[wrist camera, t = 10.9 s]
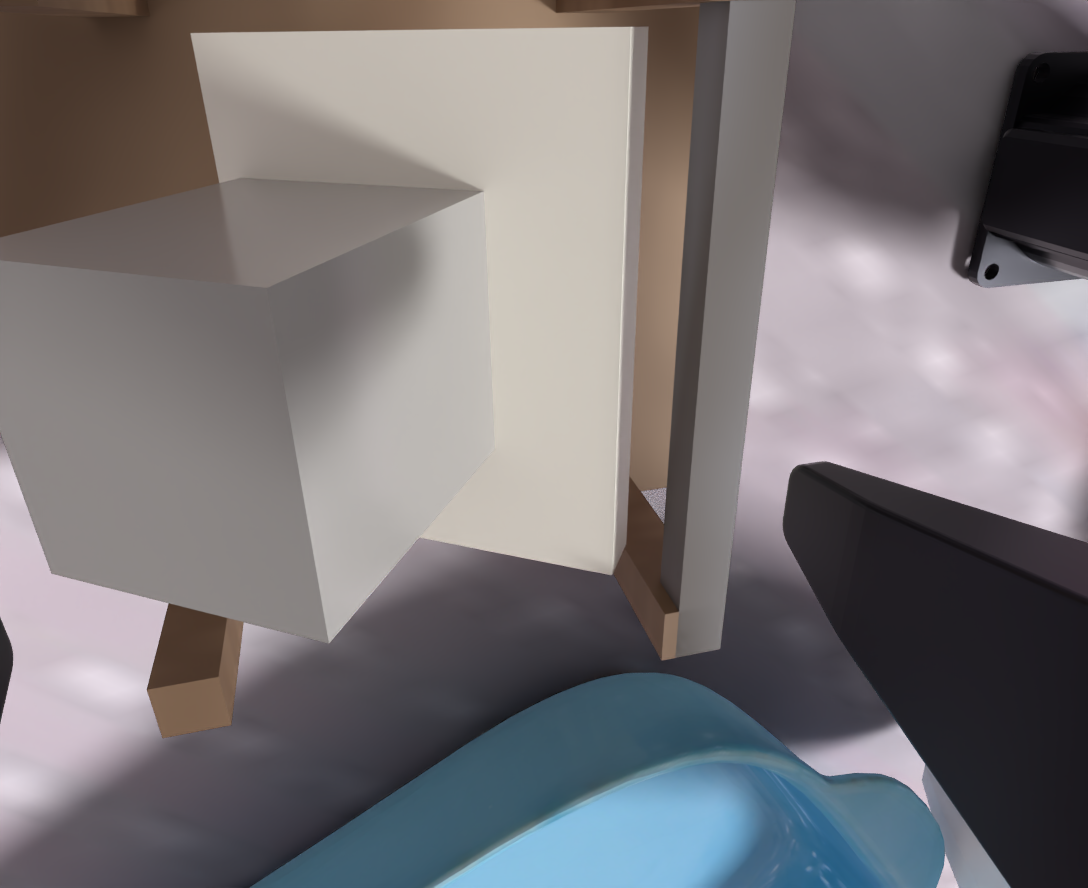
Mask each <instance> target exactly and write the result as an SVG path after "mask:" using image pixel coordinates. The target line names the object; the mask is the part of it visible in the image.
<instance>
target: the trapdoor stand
mask: <svg viewBox="0 0 1088 888" xmlns="http://www.w3.org/2000/svg"><path fill="white" fill-rule="evenodd" d="M795 6H796V0H0V237H4V236H8V235H12V234H16V233H20V232H24V231H28V230H32V229H36V228H41V227H45V226H49V225H53V224H57V223H61V222H65V221H69V220H73V219H77V218H81V217H85V216H89V215H93V214H97V213H101V212H105V211H109V210H113V209H117V208H121V207H125V206H129V205H133V204H137V203H141V202H145V201H149V200H153V199H157V198H161V197H165V196H169V195H173V194H177V193H181V192H185V191H189V190H194V189H198V188H202V187H206V186H210V185H214V184H218V183H219V178H218V173H217V168H216V163H215V158H214V153H213V147H212V142H211V137H210V132H209V127H208V122H207V116H206V111H205V106H204V101H203V96H202V91H201V85H200V80H199V75H198V70H197V65H196V59H195V54H194V49H193V44H192V39H191V34H190V33H226V32H297V31H368V30H439V29H510V28H581V27H649V28H648V51H647V74H646V97H645V121H644V144H643V167H642V190H641V214H640V237H639V260H638V283H637V307H636V330H635V353H634V376H633V400H632V423H631V446H630V469H629V493H628V516H627V539H626V545H625V548H624V550H623V552H622V555H621V557H620V559H619V561H618V564H617V566H616V568H615V570H614V573H613V574H614V576H615V578H616V579H617V581H618V583H619V585H620V587H621V588H622V590H623V592H624V594H625V596H626V597H627V599H628V601H629V603H630V605H631V606H632V608H633V610H634V612H635V614H636V615H637V617H638V619H639V621H640V623H641V624H642V626H643V628H644V630H645V632H646V634H647V635H648V637H649V639H650V641H651V643H652V644H653V646H654V648H655V650H656V652H657V653H658V655H659V657H660V659H661V661H662V660H667V659H673V658H678V657H683V656H688V655H693V654H698V653H703V652H708V651H713V650H718V649H720V645H721V637H722V628H723V620H724V611H725V603H726V594H727V586H728V577H729V569H730V560H731V552H732V543H733V535H734V526H735V518H736V509H737V501H738V492H739V483H740V475H741V466H742V458H743V449H744V441H745V432H746V424H747V415H748V407H749V398H750V390H751V381H752V373H753V364H754V356H755V347H756V339H757V330H758V322H759V313H760V305H761V296H762V288H763V279H764V271H765V262H766V254H767V245H768V236H769V228H770V219H771V211H772V202H773V194H774V185H775V177H776V168H777V160H778V151H779V143H780V134H781V126H782V117H783V109H784V100H785V92H786V83H787V75H788V66H789V58H790V49H791V41H792V32H793V24H794V15H795ZM666 487H667V490H666V505H665V519H664V524H663V522H662V521H661V519H660V518H659V517H658V515H657V514H656V512H655V511H654V510H653V508H652V507H651V505H650V504H649V503H648V501H647V500H646V498H645V497H644V496H643V494H642V493H641V491H645V490H652V489H659V488H666ZM243 623H244V622H241V621H237V620H233V619H230V618H226V617H222V616H218V615H214V614H210V613H206V612H202V611H198V610H194V609H190V608H186V607H182V606H178V605H174V604H170V603H169V604H168V608H167V612H166V616H165V620H164V624H163V628H162V632H161V636H160V640H159V644H158V648H157V652H156V656H155V659H154V663H153V667H152V671H151V675H150V679H149V683H148V687H147V692H148V695H149V698H150V701H151V704H152V707H153V710H154V713H155V716H156V719H157V723H158V726H159V729H160V732H161V735H162V738H167V737H172V736H177V735H183V734H188V733H193V732H198V731H203V730H209V729H214V728H219V727H224V726H230V725H231V724H232V715H233V707H234V698H235V690H236V682H237V673H238V665H239V656H240V648H241V639H242V631H243Z"/></svg>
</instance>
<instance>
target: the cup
mask: <svg viewBox="0 0 1088 888" xmlns="http://www.w3.org/2000/svg"><path fill="white" fill-rule="evenodd" d="M922 782H923V785H924V789H925V792H926V796H927V799H928V803H929V806H930V810H931V813H932V815H933V816H934V818H935V820H936V821H937V823H938V824H939V826H940V830H941V833H942V836H943V839H944V847H945V853H946V856H947V858H948V861H949V863H950V866H951V868H952V871H953V873H954V876H955V878H956V881H957V883H958V886H959V888H1010V886H1009V885H1008V883H1007V882H1006V880H1005V879H1004V878H1003V876H1002V875H1001V873H1000V872H999V870H998V869H997V867H996V866H995V865H994V863H993V862H992V860H991V859H990V857H989V856H988V854H987V853H986V851H985V850H984V849H983V847H982V846H981V844H980V843H979V841H978V840H977V838H976V837H975V835H974V834H973V833H972V831H971V830H970V828H969V827H968V825H967V824H966V822H965V821H964V819H963V818H962V817H961V815H960V814H959V812H958V811H957V809H956V808H955V806H954V805H953V803H952V802H951V801H950V799H949V798H948V796H947V795H946V793H945V792H944V790H943V789H942V787H941V786H940V785H939V783H938V782H937V780H936V779H935V777H934V776H933V774H932V773H931V771H930V770H929V769H928V767H927V766H926V764H925V768H924V773H923V778H922Z"/></svg>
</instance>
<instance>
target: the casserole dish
mask: <svg viewBox="0 0 1088 888" xmlns="http://www.w3.org/2000/svg"><path fill="white" fill-rule="evenodd" d="M944 858H945V847H944V839H943V836H942V833H941V830H940V826H939V824H938V823H937V821H936V820H935V818H934V816H933V815H932V813H931V812H930V810H929V808H928V807H927V805H926V804H925V803H924V802H923V801H922V800H921V799H920V798H919V797H918V796H917V795H916V794H915V793H914V792H913V791H912V790H911V789H910V788H909V787H908V786H906V785H905V784H903V783H901V782H900V781H898V780H896V779H895V778H892V777H888V776H885V775H882V774H875V773H852V774H844V775H837V776H825V775H821V774H820V773H818V772H817V771H815V770H814V769H813V768H811V767H810V766H809V765H807V764H806V763H805V762H803V761H802V760H801V759H799V758H798V757H797V756H796V755H795V754H794V753H793V752H792V751H790V750H789V749H788V748H787V747H786V746H785V745H784V744H783V743H781V742H780V741H779V740H778V739H777V738H776V737H775V736H773V735H772V734H771V733H770V732H769V731H767V730H766V729H765V728H764V727H763V726H761V725H760V724H759V723H758V722H757V721H755V720H754V719H753V718H752V717H750V716H749V715H748V714H746V713H745V712H744V711H742V710H741V709H740V708H738V707H737V706H736V705H735V704H733V703H732V702H730V701H729V700H727V699H726V698H724V697H722V696H721V695H719V694H717V693H716V692H714V691H712V690H711V689H709V688H707V687H706V686H703V685H701V684H699V683H696V682H694V681H691V680H689V679H686V678H682V677H679V676H676V675H670V674H664V673H624V674H619V675H613V676H608V677H602V678H599V679H596V680H592V681H589V682H586V683H583V684H580V685H578V686H575V687H573V688H570V689H568V690H565V691H563V692H560V693H558V694H555V695H553V696H551V697H549V698H547V699H545V700H543V701H541V702H539V703H537V704H535V705H533V706H531V707H529V708H527V709H525V710H523V711H521V712H519V713H517V714H515V715H514V716H512V717H510V718H508V719H507V720H505V721H503V722H502V723H500V724H498V725H497V726H495V727H493V728H492V729H490V730H489V731H487V732H485V733H484V734H482V735H480V736H479V737H477V738H475V739H474V740H472V741H470V742H469V743H467V744H466V745H464V746H463V747H461V748H460V749H458V750H457V751H455V752H454V753H452V754H451V755H449V756H448V757H446V758H445V759H443V760H442V761H440V762H439V763H437V764H436V765H434V766H433V767H431V768H430V769H428V770H427V771H425V772H424V773H422V774H421V775H419V776H418V777H416V778H415V779H413V780H412V781H410V782H409V783H407V784H406V785H404V786H403V787H401V788H400V789H398V790H397V791H395V792H394V793H392V794H391V795H389V796H388V797H386V798H385V799H383V800H382V801H380V802H379V803H377V804H376V805H374V806H373V807H371V808H370V809H368V810H367V811H365V812H364V813H362V814H361V815H359V816H358V817H356V818H355V819H353V820H352V821H350V822H349V823H347V824H346V825H344V826H342V827H341V828H339V829H338V830H336V831H335V832H333V833H332V834H330V835H329V836H327V837H326V838H324V839H323V840H321V841H320V842H318V843H317V844H315V845H313V846H312V847H310V848H309V849H307V850H306V851H304V852H303V853H301V854H300V855H298V856H297V857H295V858H294V859H292V860H291V861H289V862H288V863H286V864H285V865H283V866H281V867H280V868H278V869H277V870H275V871H274V872H272V873H271V874H269V875H268V876H266V877H265V878H263V879H262V880H260V881H259V882H257V883H256V884H254V885H252V886H251V887H249V888H936V887H937V884H938V881H939V878H940V875H941V872H942V869H943V866H944Z"/></svg>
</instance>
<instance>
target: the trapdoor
mask: <svg viewBox="0 0 1088 888" xmlns="http://www.w3.org/2000/svg"><path fill="white" fill-rule="evenodd" d="M648 28H649V27H581V28H510V29H439V30H368V31H297V32H226V33H190V34H191V39H192V44H193V49H194V54H195V59H196V65H197V70H198V75H199V80H200V85H201V91H202V96H203V101H204V106H205V111H206V116H207V122H208V127H209V132H210V137H211V142H212V147H213V153H214V158H215V163H216V168H217V173H218V178H219V183H222V182H226V181H230V180H234V179H238V178H255V179H273V180H291V181H309V182H328V183H346V184H364V185H382V186H401V187H419V188H437V189H455V190H474V191H484V202H485V226H486V249H487V273H488V296H489V320H490V343H491V367H492V390H493V413H494V437H495V450H494V451H493V452H492V453H491V454H490V456H489V457H488V458H487V459H486V460H485V461H484V463H483V464H482V465H481V466H480V467H479V468H478V470H477V471H476V472H475V473H474V474H473V475H472V477H471V478H470V479H469V480H468V481H467V482H466V484H465V485H464V486H463V487H462V488H461V490H460V491H459V492H458V493H457V494H456V495H455V497H454V498H453V499H452V500H451V501H450V502H449V504H448V505H447V506H446V507H445V508H444V509H443V511H442V512H441V513H440V514H439V515H438V516H437V518H436V519H435V520H434V521H433V522H432V524H431V525H430V526H429V527H428V528H427V529H426V531H425V532H424V533H423V534H422V535H421V536H420V538H424V539H429V540H434V541H439V542H444V543H449V544H454V545H460V546H465V547H470V548H475V549H480V550H485V551H490V552H495V553H500V554H505V555H511V556H516V557H521V558H526V559H531V560H536V561H541V562H546V563H551V564H556V565H562V566H567V567H572V568H577V569H582V570H587V571H592V572H597V573H602V574H607V575H613V573H614V570H615V568H616V566H617V564H618V561H619V559H620V557H621V555H622V552H623V550H624V548H625V545H626V539H627V516H628V493H629V469H630V446H631V423H632V400H633V376H634V353H635V330H636V307H637V283H638V260H639V237H640V214H641V190H642V167H643V144H644V121H645V97H646V74H647V51H648Z"/></svg>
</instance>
